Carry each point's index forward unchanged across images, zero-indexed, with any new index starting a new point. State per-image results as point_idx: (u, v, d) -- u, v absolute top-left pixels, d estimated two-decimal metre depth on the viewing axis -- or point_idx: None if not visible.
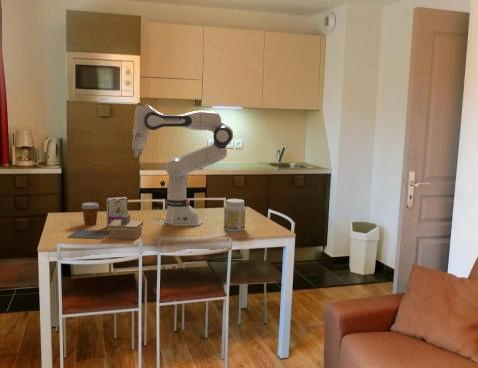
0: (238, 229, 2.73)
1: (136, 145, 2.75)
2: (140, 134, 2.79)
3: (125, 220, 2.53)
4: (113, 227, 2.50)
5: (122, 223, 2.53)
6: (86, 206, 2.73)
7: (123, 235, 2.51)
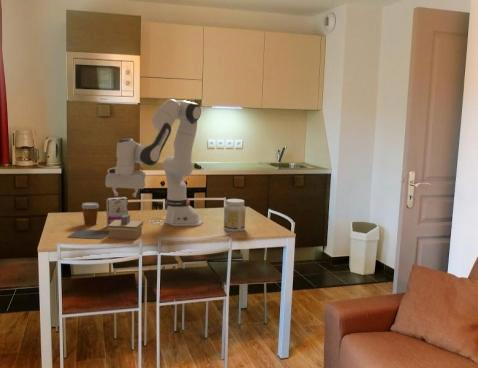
0: (238, 229, 2.73)
1: (144, 183, 2.53)
2: None
3: (125, 220, 2.53)
4: (113, 227, 2.50)
5: (122, 223, 2.53)
6: (86, 206, 2.73)
7: (123, 235, 2.51)
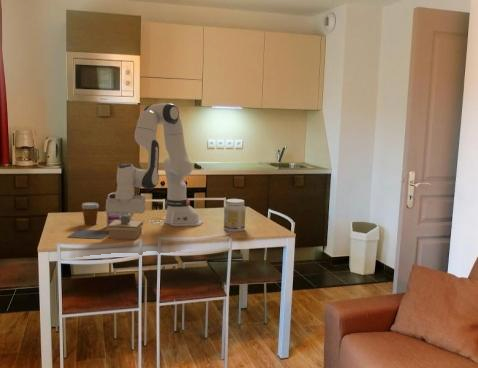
0: (238, 229, 2.73)
1: (144, 208, 2.55)
2: None
3: (125, 220, 2.53)
4: (113, 227, 2.50)
5: (122, 223, 2.53)
6: (86, 206, 2.73)
7: (123, 235, 2.51)
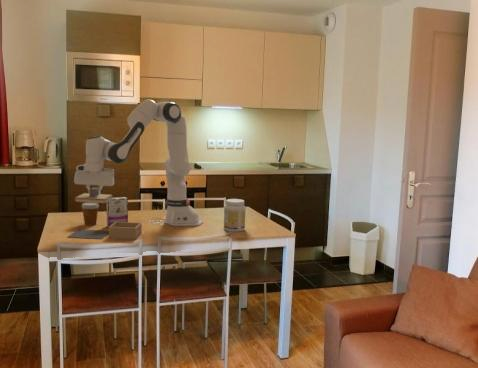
0: (238, 229, 2.73)
1: None
2: None
3: (93, 192, 2.51)
4: (81, 199, 2.48)
5: (90, 195, 2.51)
6: (86, 206, 2.73)
7: (123, 235, 2.51)
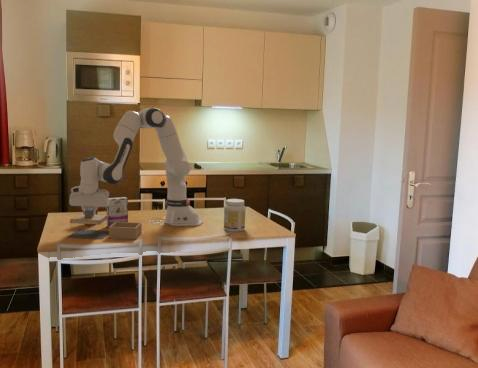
0: (238, 229, 2.73)
1: (108, 202, 2.55)
2: None
3: (89, 214, 2.53)
4: (76, 221, 2.50)
5: (86, 217, 2.53)
6: (86, 206, 2.73)
7: (123, 235, 2.51)
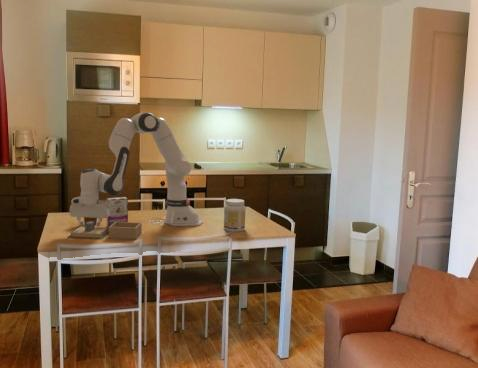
0: (238, 229, 2.73)
1: None
2: None
3: (89, 227, 2.54)
4: (77, 234, 2.51)
5: (86, 230, 2.54)
6: None
7: (123, 235, 2.51)
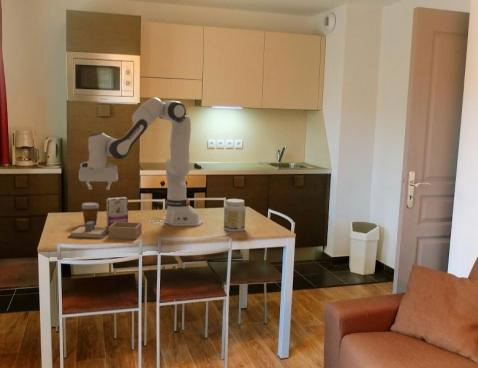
0: (238, 229, 2.73)
1: (117, 176, 2.58)
2: None
3: (89, 227, 2.54)
4: (77, 234, 2.51)
5: (86, 230, 2.54)
6: (86, 206, 2.73)
7: (123, 235, 2.51)
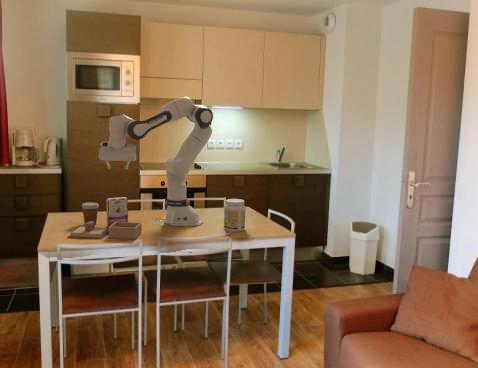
0: (238, 229, 2.73)
1: None
2: None
3: (89, 227, 2.54)
4: (77, 234, 2.51)
5: (86, 230, 2.54)
6: (86, 206, 2.73)
7: (123, 235, 2.51)
